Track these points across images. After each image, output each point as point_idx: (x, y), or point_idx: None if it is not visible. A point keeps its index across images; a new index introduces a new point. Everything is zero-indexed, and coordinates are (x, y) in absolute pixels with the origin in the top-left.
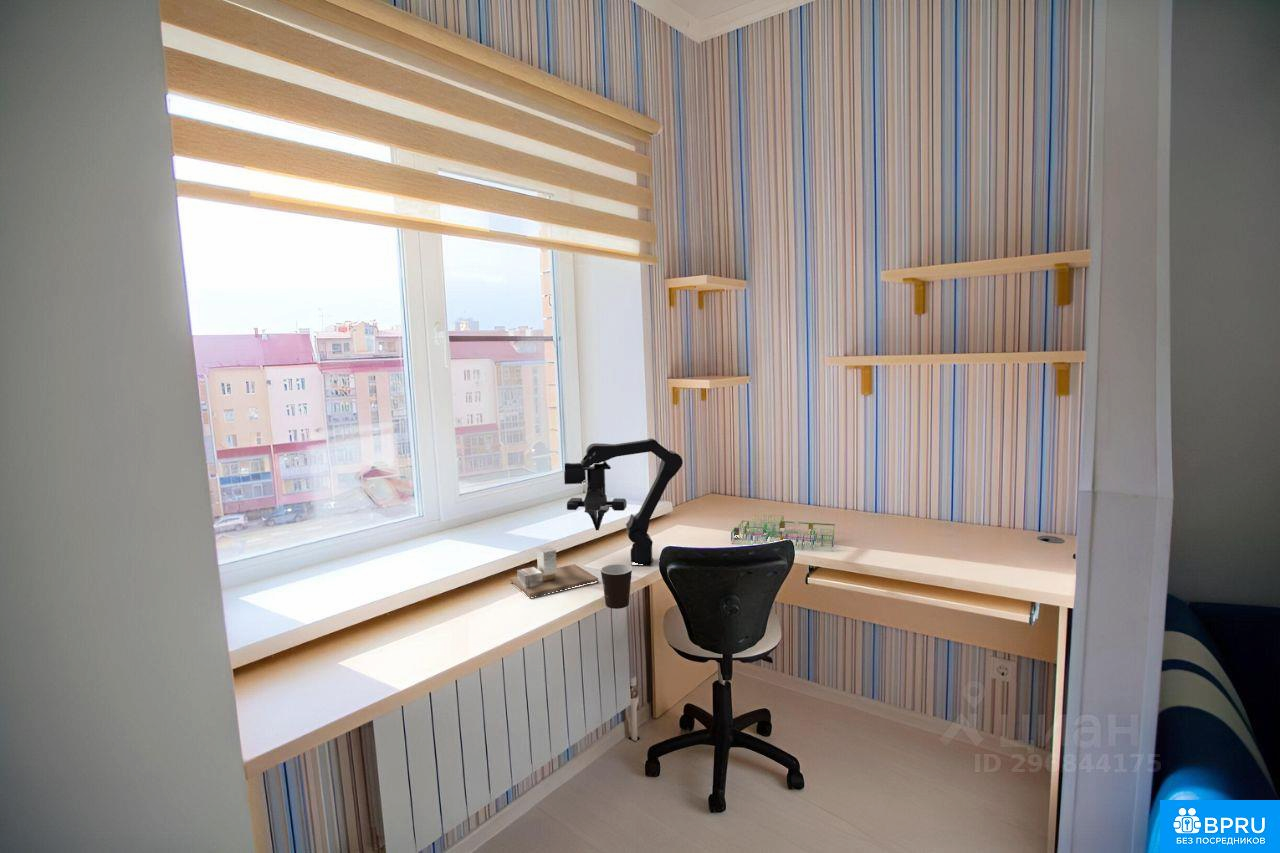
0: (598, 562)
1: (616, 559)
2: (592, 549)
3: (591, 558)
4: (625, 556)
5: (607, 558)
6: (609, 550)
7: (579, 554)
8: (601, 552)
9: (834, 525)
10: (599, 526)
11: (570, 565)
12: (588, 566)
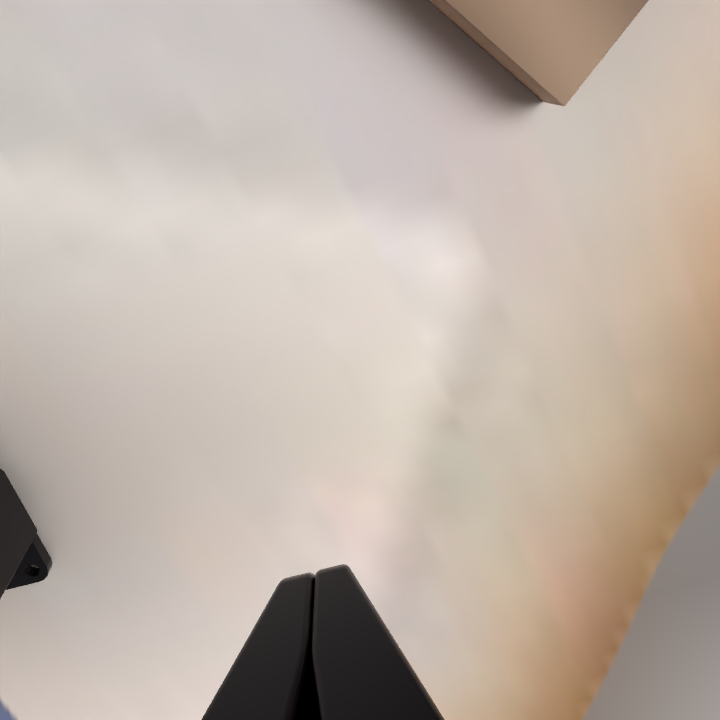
0: (365, 385)
1: (231, 517)
2: (570, 658)
3: (487, 464)
4: (193, 608)
5: (331, 513)
6: None
7: (644, 521)
8: (460, 624)
9: None
10: (242, 674)
11: (599, 34)
12: (415, 234)
